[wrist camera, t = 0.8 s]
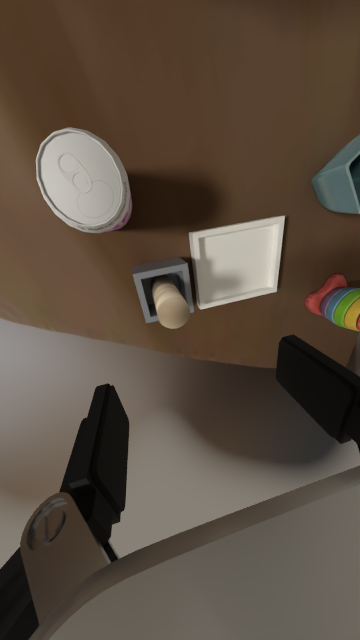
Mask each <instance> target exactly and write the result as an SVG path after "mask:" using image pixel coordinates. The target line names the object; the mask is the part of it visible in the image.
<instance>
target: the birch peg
mask: <svg viewBox="0 0 360 640" xmlns="http://www.w3.org/2000/svg"><path fill="white" fill-rule="evenodd" d="M151 290H152V294H153V298H154V302H155V307H156V311H157V315H158V319H159V321H160V323H161V324H162V325H163V326H165V327H167V328H172V329H174V328H179V327H181V326H183V325H184V324H185V323H186V322H187V321H188V319H189V317H190V308H189V306H188V304H187V303H186V301H185V300H184V298H183V297H182V295H181V294H180V292H179V291H178V289H177V288H176V286H175V285H174V283H173V282H172V280H171V279H170V277H168V276H167V275H165V274H163V275H158V276H155V277H154V278H153V279H152V281H151Z"/></svg>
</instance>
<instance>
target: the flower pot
mask: <svg viewBox="0 0 360 640" xmlns="http://www.w3.org/2000/svg"><path fill="white" fill-rule="evenodd" d="M312 185H313V187H314V189H315V192H316V194H317V197H318V200H319V202H320V203H321V204H322V205H323V206H324V207H325V208H327V209H328V210H330V211H334V212H340V213H352V214H360V135H359V136H357V137H356V138H354V139H353V140H352V141H350V142H349V143H348V144H347V145H346V146H344V147H343V148H342V149H341V150H340V151H339V152H338V153H337V154H336V155H335V156H334V157H333V158H332V159H331V160H330V161H329V162H328V163H327V164H326V165H325V166H324V167H323V168H322V169H321V170H320V171H319V172H318V173H317V174H316V175H315V176H314V177H313V179H312Z"/></svg>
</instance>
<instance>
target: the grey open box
mask: <svg viewBox="0 0 360 640" xmlns="http://www.w3.org/2000/svg"><path fill="white" fill-rule="evenodd" d="M163 274H165V275H167V276H168V277H170V279H171V280H172V282H173V283H174V285H175V286H176V288H177V289H178V291H179V292H180V294H181V295H182V297H183V298H184V300H185V301H186V303H187V304H188V306H189V308H190V313H192V312H194V309H193V301H192V293H191V286H190V278H189V270H188V263H187V262H185V261H184V260H182V259H181V258H180V257H177V258H172V259H167V260H162V261H157V262H152V263H147V264H142V265H137V266H133V277H134V281H135V285H136V288H137V292H138V295H139V299H140V302H141V306H142V310H143V313H144V317H145V320H146V323H150V322H154V321H158V320H159V319H158V315H157V311H156V307H155V302H154V298H153V294H152V290H151V281H152V279H153V278H154V277H155V276H158V275H163Z"/></svg>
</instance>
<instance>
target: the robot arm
mask: <svg viewBox="0 0 360 640" xmlns="http://www.w3.org/2000/svg"><path fill="white" fill-rule="evenodd" d="M276 379H277V381H278V382H279V383H280V384H281V385H282V386H283V388H284V389H285V390H287V392H288V393H289V394H290V395H291V396H292V397H293V398H294V399H295V400H296V401H297V402H298V403H299V404H300V405H301V406H302V407H303V408H304V410H305V411H306V412H307V413H308V414H309V415H310V416H311V417H312V418H313V419H314V420H315V421H316V422H317V423H318V424H319V425H320V426H321V427H322V428H323V429H324V430H325V431H326V433H328V434H329V435H330V436H331V437H333V438H335V439H336V440H337V441H338V442H339V443H340V444H342V443H345V442H348V441H350V440H351V439H353V440H354V441H355V442H356V443H357V445H358V449H359V453H360V377H359V376H358V375H356V374H355V373H353V372H352V371H350V370H348V369H347V368H345V367H344V366H342V365H341V364H339V363H337V362H336V361H334V360H333V359H331V358H330V357H328V356H326V355H325V354H323V353H322V352H320V351H319V350H317V349H315V348H314V347H312V346H311V345H309V344H308V343H306V342H304V341H303V340H301V339H300V338H298V337H296V336H295V335H290V336H286V337H283V338H282V339H281V341H280V342H279V349H278V358H277V368H276ZM128 439H129V420H128V417H127V415H126V413H125V410H124V408H123V406H122V404H121V401H120V399H119V397H118V394H117V392H116V390H115V387H114V386H113V385H112V386H110V384H105V385H100V386H97V387H96V389H95V392H94V396H93V399H92V403H91V406H90V410H89V413H88V417H87V418H84V419H83V420H82V422H81V424H80V427H79V430H78V434H77V437H76V440H75V443H74V447H73V450H72V453H71V456H70V459H69V463H68V466H67V469H66V473H65V476H64V479H63V482H62V486H61V488H60V491H59V493H56V494H54V495H52V496H50V497H49V498H47V499H46V500H45V501H44V502H43V503H42V504H40V506H39V507H38V508H37V509H36V510H35V511H34V513H33V514H32V516H31V517H30V519H29V520H28V522H27V524H26V526H25V528H24V531H23V533H22V537H21V542H20V547H19V548H18V550H17V551H16V552H15V553H14V554H13V555H12V556H11V558H10V559H9V560H8V561H7V562H6V564H5V565H4V566H3V567H2V568H1V569H0V640H360V466H357V467H355V468H352V469H349V470H347V471H344V472H341V473H338V474H336V475H333V476H330V477H327V478H325V479H322V480H319V481H317V482H314V483H311V484H309V485H306V486H303V487H300V488H298V489H295V490H293V491H290V492H287V493H284V494H282V495H279V496H276V497H274V498H271V499H268V500H266V501H263V502H260V503H258V504H255V505H252V506H250V507H247V508H244V509H242V510H239V511H236V512H234V513H231V514H228V515H226V516H223V517H221V518H218V519H215V520H213V521H210V522H207V523H205V524H202V525H199V526H197V527H194V528H192V529H189V530H187V531H184V532H181V533H179V534H176V535H174V536H171V537H169V538H166V539H164V540H161V541H159V542H157V543H154V544H151V545H149V546H147V547H144V548H142V549H139V550H137V551H135V552H133V553H130V554H128V555H126V556H124V557H122V558H120V557H119V556H118V554H117V553H116V551H115V549H114V547H113V546H112V544H111V542H110V541H109V538H110V537H111V529H112V524H115V523H118V522H120V514H121V512H122V511H124V509H125V499H126V480H127V460H128Z"/></svg>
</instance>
